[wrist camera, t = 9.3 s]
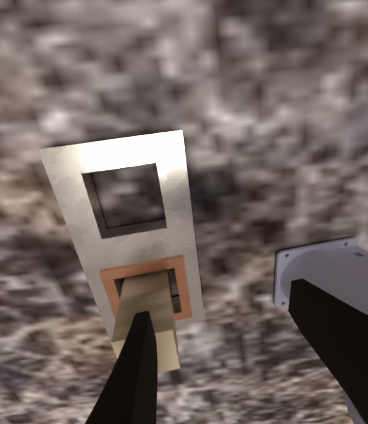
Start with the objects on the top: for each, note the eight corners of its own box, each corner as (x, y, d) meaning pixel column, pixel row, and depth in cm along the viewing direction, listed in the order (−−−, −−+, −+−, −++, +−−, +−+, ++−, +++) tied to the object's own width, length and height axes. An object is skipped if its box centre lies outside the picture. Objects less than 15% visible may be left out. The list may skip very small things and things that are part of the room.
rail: (179, 130, 17) (182, 129, 15) (200, 305, 24) (205, 321, 22) (51, 147, 16) (36, 149, 14) (113, 323, 23) (109, 341, 21)
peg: (166, 260, 21) (172, 329, 13) (171, 290, 22) (180, 368, 15) (126, 267, 21) (111, 342, 13) (134, 297, 22) (125, 380, 15)
